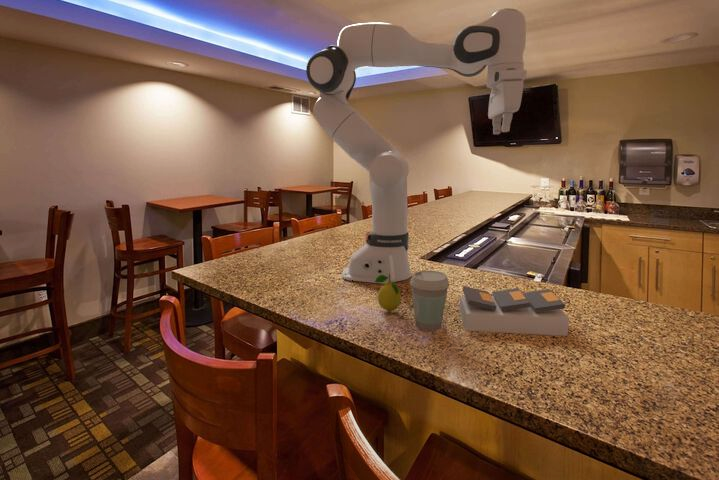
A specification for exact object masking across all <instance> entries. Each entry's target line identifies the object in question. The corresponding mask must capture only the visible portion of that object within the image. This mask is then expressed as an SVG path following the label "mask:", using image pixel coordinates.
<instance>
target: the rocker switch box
mask: <svg viewBox="0 0 719 480" xmlns="http://www.w3.org/2000/svg"><path fill="white" fill-rule="evenodd" d="M491 297H492V299H493V301H494V303H495V305H496V306H497V307H496V310H495V311H494V310H490V309H486V308H482V307H477V306H473V305H469V304H468V303H467V300H466V298H465V295H464V294H463V295H462V294H461V295H459V308H458V309H459V313H460V314H459V315H460V317H461V321H462V324H463V327H464V331H468V332H487V333H506V334H510V333H511V334H524V335H545V336H562V337H564V336H565V337H567V336H568V333H569V326H570V317H569V316H568V315H567V314H566V313H565V312H564V311H563V310H562V309H557V310H550V311H543V312H535V311H534V310H533V309H532V307H526V308H519V309H512V310H505V311H501V309H500V307H499V305H498V304H497V302H496V300H495V299H494V297H493V296H491Z"/></svg>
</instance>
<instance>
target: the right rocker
mask: <svg viewBox="0 0 719 480" xmlns="http://www.w3.org/2000/svg"><path fill="white" fill-rule="evenodd" d="M522 293H523V295H524V296H525V297H526V298H527V299H528V301H529V302H530V306H531V307H532V309H533V310H534V311H535V312H543V311H550V310H557V309H561V310H562V309H564V310H565V309H566V304H565V303H564V302H563V301H562V300H561V299H560V298H559V296H557V295H556V294H555V293H554V292H553V291H552V290H551V289H550V288H547V289H540V290H534V291H528V292H527V291H526V292H522Z"/></svg>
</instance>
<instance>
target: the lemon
mask: <svg viewBox="0 0 719 480" xmlns="http://www.w3.org/2000/svg"><path fill="white" fill-rule="evenodd" d="M387 279H388V277H386V276H384V275H380V276H378V277H377V279H376V280H375V282H377V283H376V284H381V283H380V282H384V281H387ZM379 288H380V289H379V290H378V296H377V300H378V304H379V306H380V307H381V308H382V309H383V310H385V311H386V312H388V313H392V311H394V310H397V309H398V307H399V306H400V305H401V300H402V299H401V297H403V295H402V293H401V291H400V288H399V287H398V286H397V284H396V282H394V283H393V282H390V274H389V282H388V283H387V284H383V285H382V286H381V287H379Z"/></svg>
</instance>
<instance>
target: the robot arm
mask: <svg viewBox="0 0 719 480" xmlns="http://www.w3.org/2000/svg"><path fill="white" fill-rule="evenodd" d="M526 24H527V23H526V17H525V15H524V13H522V12H521V11H519V10H518V9H514V8H503V9H499V10H497V11H495V12H494V13H493V14H492V15H490V16H489V17H488V18H486V19H484V20H482V21H481V22H478V23H476V24H473V25H470V26H466V27H464V28H462V30H460V31H459V32H458V33H457V35H455V38H454V41H453V44H448V43H447V44H446V43H445V44H444V43H437V42H436V43H433V42H426V41H422V40H420V39H417V37H414V36H413V35H412V34H411V33H409V31H407V30H406V29H405V28H404V27H402V25H398V24H393V23H388V22H365V23H364V22H363V23H355V24H351V25H347V26H344V27H343V28H342V29H341V31H340V32H339V35H338V38H337V45H335V44H331V45H329V46H327V47H325V48H324V49H322V50H319V51H318V52H316V53H315V54H313V55H312V56H311V57H310V58H309V59H308V61H307V63H306V70H305V71H306V76H307V79H308V82H309V83H310V84H311V86H312V87H313V88H314V89H315V90H316V91H319V95H318V96H319V97H318V99H317V100H316V101H315V103H314V105H313V109H312V114H313V116H314V119H315V120H316V122H317V123H318V124H319V126H320V127H321V129H322V130H324V132H325V133H326V134H327V136H329V137H330V138H331V140H332V141H333V142H335V143H336V145H338V147H340V148H341V149H342V151H344V153H345V154H346V155H348V156H349V157H350V158H351V159H352V160H354V161H355V162H356V163H357V164H359V165H360V166H361V167H362V168H363V169H365V171H367V172H368V173H369V175H368V176H369V189H370V199H371V207H372V208H371V211H372V212H371V213H372V215H371V217H372V218H371V220H372V223H371V224H372V225H371V226H372V227H371V228H372V229H371V230H368V231H367V232H366V233H365V244H364V245H362V246H361V247H360V248H358V249H357V250H356V251H355V252H354V253H352V254H351V257H350V260H349V263H348V266H347V267H345V268H344V269H343V270H342V273H341V274H342V275H341V276H342V277H341V278H342V279H343V278H344V279H343V280H345V279H346V280H345V281H352V280H353V282H363V283H371V284H372V283H374V284H378V283H377V282H375V280H376V279H377V277H378V276H380V275H384V276H386V277H388V279H387V281H384V282H380V283H379V284H381V285H382V284H383V285H384V284H387V283H388V282H389V274H390V282H393V283H397V282H401V281H405V280H408V279H410V278H412V276H413V274H412V271H411V267H410V266H411V265H410V261H409V253H408V250H409V244H410V235H409V232H408V212H409V211H408V207H409V206H408V176H409V173H410V168H409V167H410V166H409V163H408V160H407V158H405V157H404V156H403V155H402V153H401V152H399V151H398V150H397V148H395V147H394V146H393V145H392V144H391V143H390V142H389V141H388V140H387V139H385V138H384V137H383V136H382V134H380V132H378V131H377V130H376V129H375V128H373V126H372V125H371V124H370V123H369V122H368V121H367V120H366V119H365V118H364V117H363V116H361V114H360V113H359V112H358V111H357V110H356V109H355V108H354V107H352V106H351V104H350V103H349V102H348V100H349V98H350V96H351V93H352V92H353V91H352V90H354V87H355V85H356V82H357V74H356V73H357V72H356V71H355V70H357V69H359V68H363V67H369V68H370V67H371V68H373V67H374V68H395V67H396V68H397V67H425V68H436V69H445V70H451V71H453V72H455V73H456V74H459V76H463V77H465V78H469V77H470V78H471V77H472V78H473V77H475V76H477V75H479V74H481V73H482V72H483V71H484V70H485V69H486V67H487V76H486V77H487V78H486V88H488V89H491V90H490V91H491V92H490V95H489V101H488V111H487V116H488V120H489V119H490V120H492V127H493V128H492V131H493V132H492V134H493V135H500V134H501V133H508V132H510V129H511V123H512V120H513V114H514V113H516V112H518V111H519V110H520V107H521V103H522V97H523V90H524V81H525V80H526V79H527V69H524V65H525V63H524V51H525V49H526V39H527V25H526ZM501 123H502V124H501Z"/></svg>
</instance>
